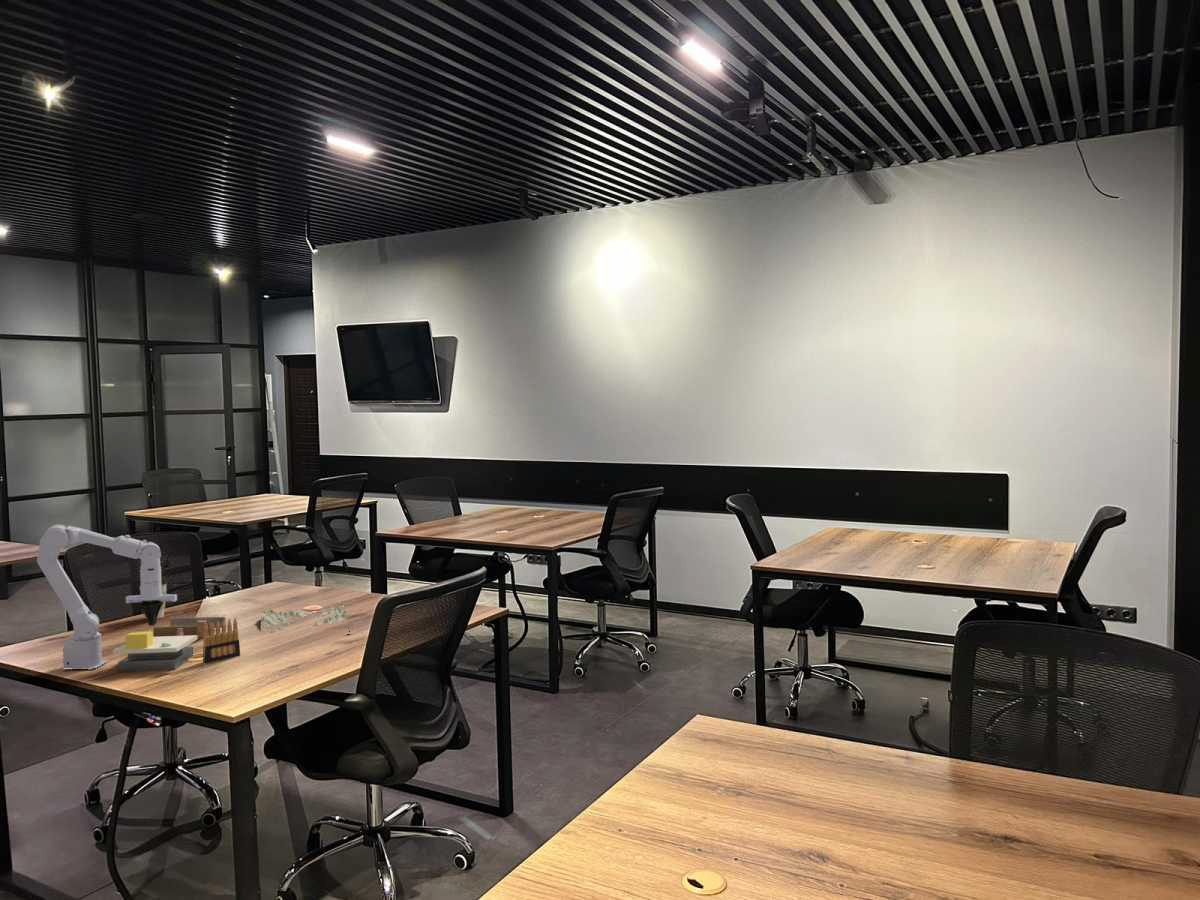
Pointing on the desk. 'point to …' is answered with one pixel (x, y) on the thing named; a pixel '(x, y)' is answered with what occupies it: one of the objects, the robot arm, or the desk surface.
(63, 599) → the robot arm
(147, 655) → the leveling base
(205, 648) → the ammunition clip
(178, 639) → the plate
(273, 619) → the topographic map model
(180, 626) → the skate ramp
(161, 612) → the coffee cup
